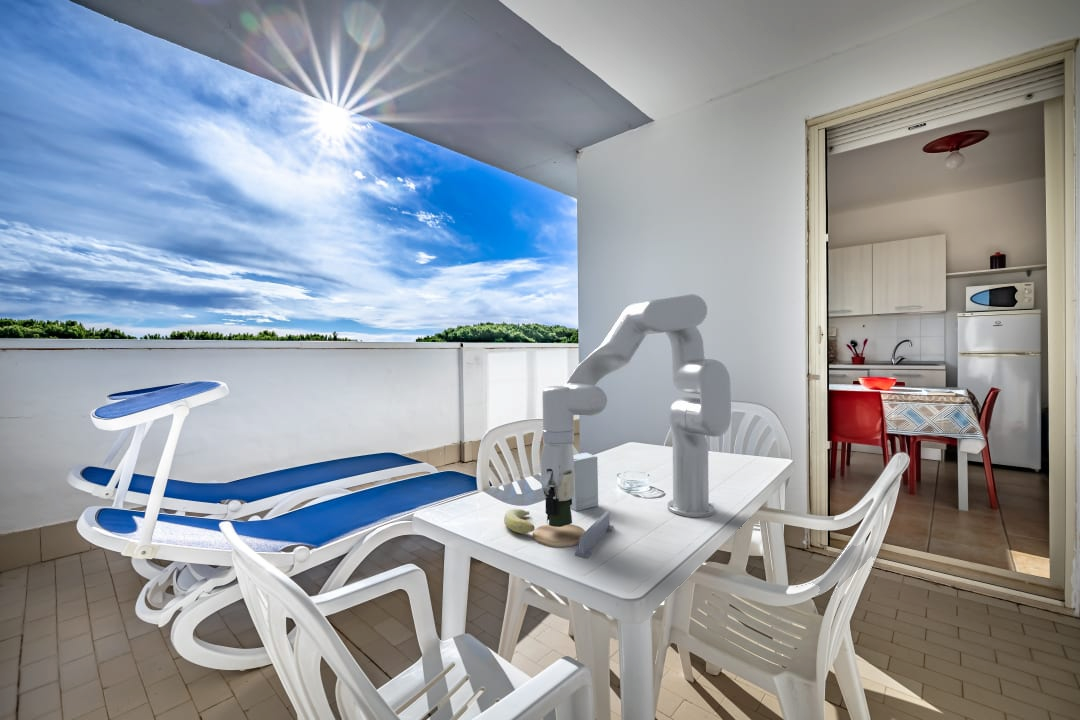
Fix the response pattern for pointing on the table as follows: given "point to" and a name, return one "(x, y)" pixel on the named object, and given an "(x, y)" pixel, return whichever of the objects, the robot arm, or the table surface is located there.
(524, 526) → the fruit
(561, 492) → the character mug
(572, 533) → the coaster
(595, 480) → the skincare box
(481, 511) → the table surface
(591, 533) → the grey cabinet handle
